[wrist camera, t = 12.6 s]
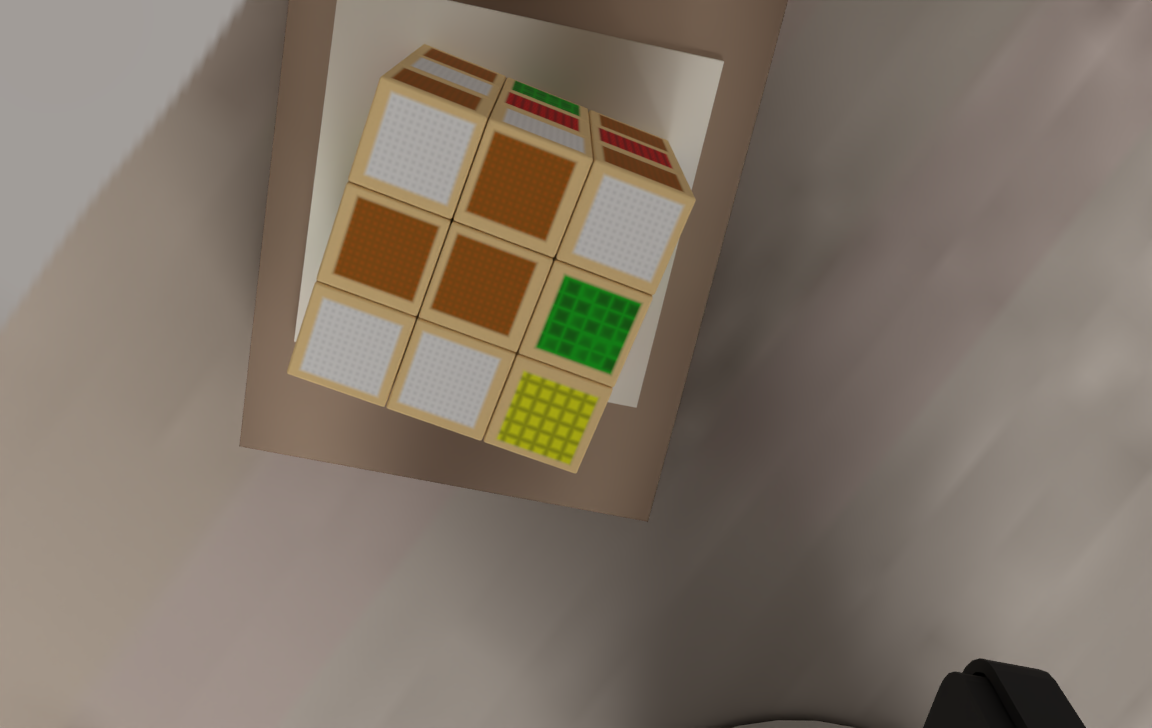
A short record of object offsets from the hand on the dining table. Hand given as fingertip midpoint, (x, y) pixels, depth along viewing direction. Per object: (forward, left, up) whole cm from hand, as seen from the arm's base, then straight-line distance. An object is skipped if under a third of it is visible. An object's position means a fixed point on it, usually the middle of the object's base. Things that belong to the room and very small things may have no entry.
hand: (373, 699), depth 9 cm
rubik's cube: (0, 0, -16) cm, 16 cm away
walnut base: (0, 0, -20) cm, 20 cm away
